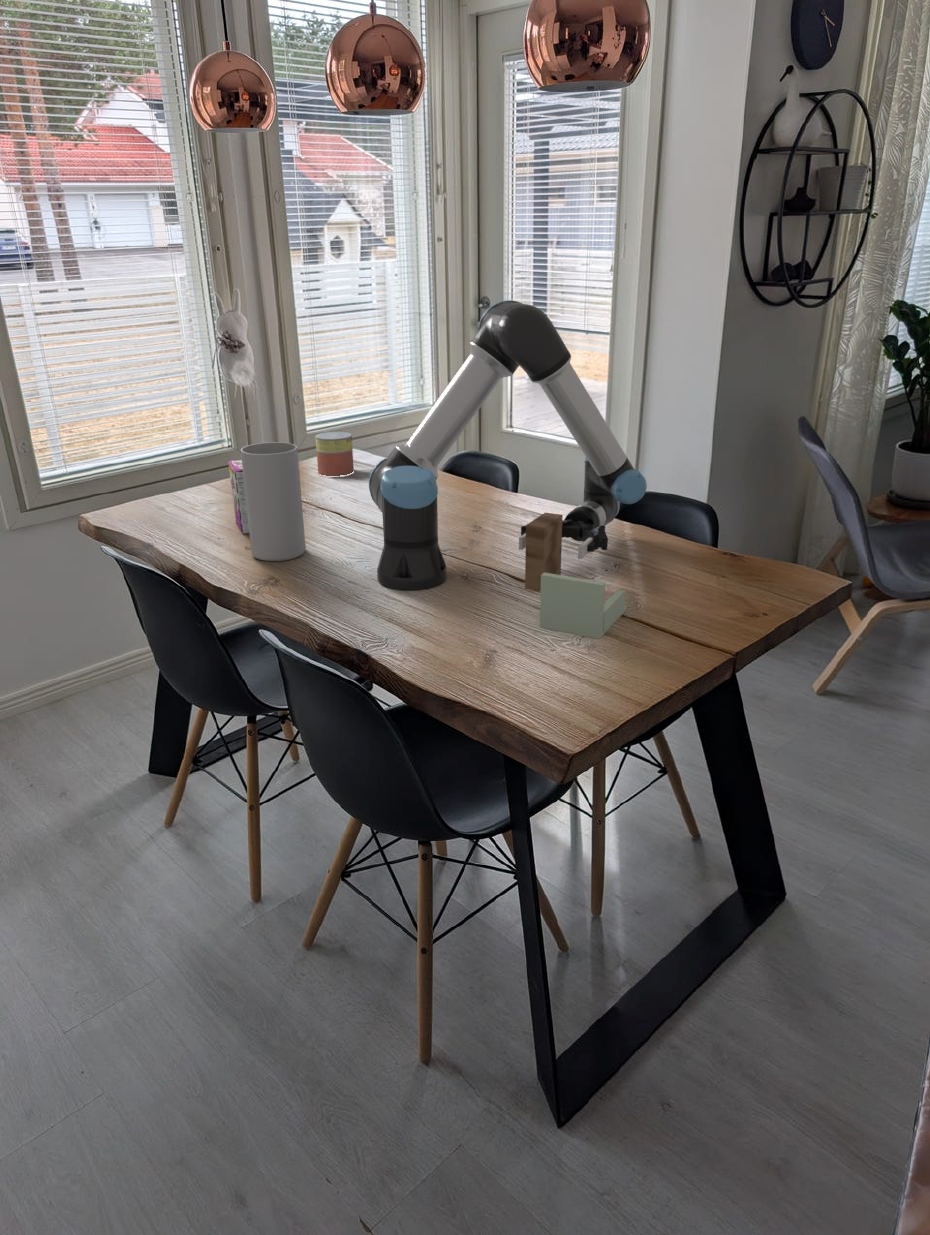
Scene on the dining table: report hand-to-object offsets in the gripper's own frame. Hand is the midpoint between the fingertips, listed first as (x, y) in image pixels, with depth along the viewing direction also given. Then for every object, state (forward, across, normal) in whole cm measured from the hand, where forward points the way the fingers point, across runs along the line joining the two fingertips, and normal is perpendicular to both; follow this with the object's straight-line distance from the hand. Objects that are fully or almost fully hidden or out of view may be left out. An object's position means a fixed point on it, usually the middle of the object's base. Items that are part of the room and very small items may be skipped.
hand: (549, 548), depth 192 cm
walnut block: (+2, +1, -7) cm, 8 cm away
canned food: (-59, +96, -8) cm, 113 cm away
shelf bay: (+16, -14, -7) cm, 23 cm away
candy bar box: (-2, +84, -8) cm, 85 cm away
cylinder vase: (+11, +64, -8) cm, 65 cm away
